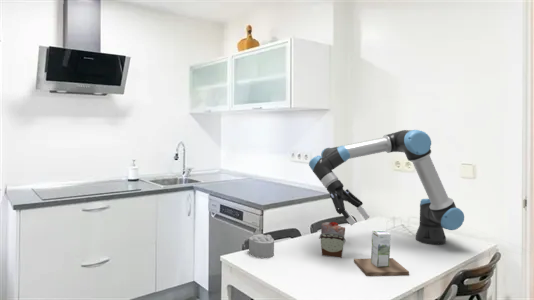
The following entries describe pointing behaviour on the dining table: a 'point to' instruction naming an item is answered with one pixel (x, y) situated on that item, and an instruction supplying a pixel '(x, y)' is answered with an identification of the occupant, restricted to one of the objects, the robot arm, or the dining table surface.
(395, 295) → the dining table surface
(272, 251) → the lumpy-topped squat cylinder
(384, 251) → the syrup box
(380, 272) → the walnut board
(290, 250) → the dining table surface
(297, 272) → the dining table surface
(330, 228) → the food item
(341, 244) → the food container
